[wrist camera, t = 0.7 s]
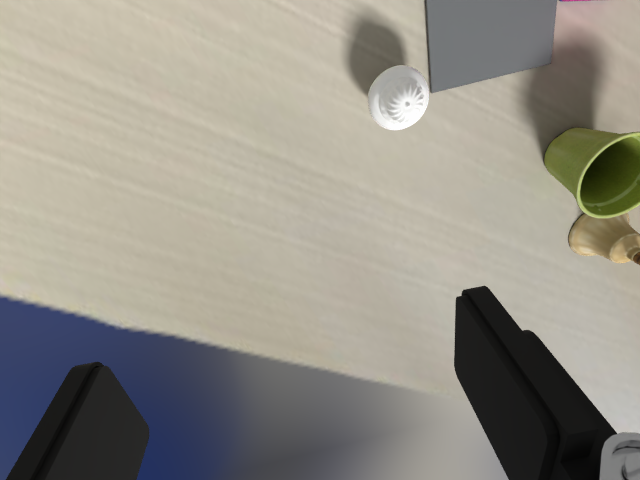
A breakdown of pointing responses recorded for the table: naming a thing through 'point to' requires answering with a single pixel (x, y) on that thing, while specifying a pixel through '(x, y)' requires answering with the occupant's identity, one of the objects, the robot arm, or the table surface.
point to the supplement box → (573, 0)
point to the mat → (486, 39)
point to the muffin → (398, 97)
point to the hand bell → (606, 238)
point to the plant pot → (598, 169)
